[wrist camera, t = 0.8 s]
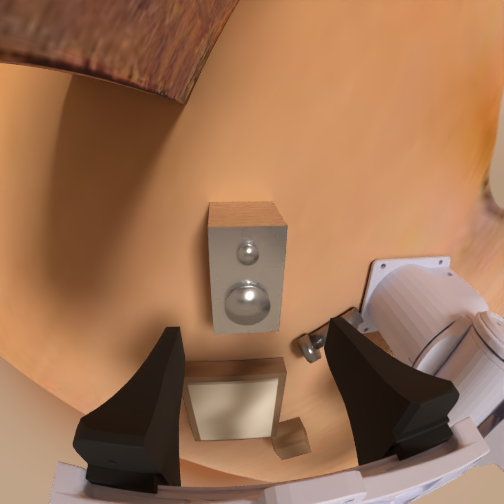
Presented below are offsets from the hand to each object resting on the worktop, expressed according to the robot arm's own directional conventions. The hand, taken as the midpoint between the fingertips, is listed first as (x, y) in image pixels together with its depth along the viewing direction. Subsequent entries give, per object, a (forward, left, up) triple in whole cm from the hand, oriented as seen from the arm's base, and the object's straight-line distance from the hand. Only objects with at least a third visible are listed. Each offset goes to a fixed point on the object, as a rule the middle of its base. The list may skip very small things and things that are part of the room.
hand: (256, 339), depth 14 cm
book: (+3, -24, -10) cm, 26 cm away
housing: (0, 0, -10) cm, 10 cm away
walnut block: (-6, +26, -10) cm, 28 cm away
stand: (+1, +18, -10) cm, 20 cm away
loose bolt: (-9, +8, -10) cm, 15 cm away
